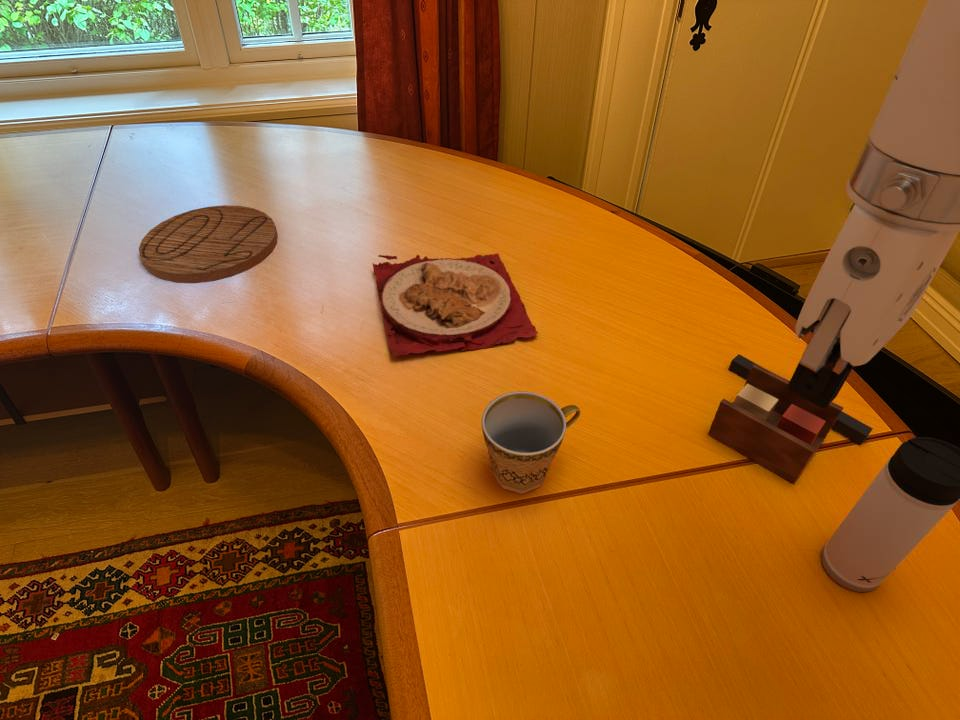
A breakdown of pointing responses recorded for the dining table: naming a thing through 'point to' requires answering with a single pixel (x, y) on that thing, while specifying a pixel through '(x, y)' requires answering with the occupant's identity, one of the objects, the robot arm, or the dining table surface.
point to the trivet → (208, 243)
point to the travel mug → (894, 513)
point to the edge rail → (843, 423)
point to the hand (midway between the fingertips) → (810, 393)
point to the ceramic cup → (524, 437)
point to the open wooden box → (773, 424)
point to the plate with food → (449, 304)
